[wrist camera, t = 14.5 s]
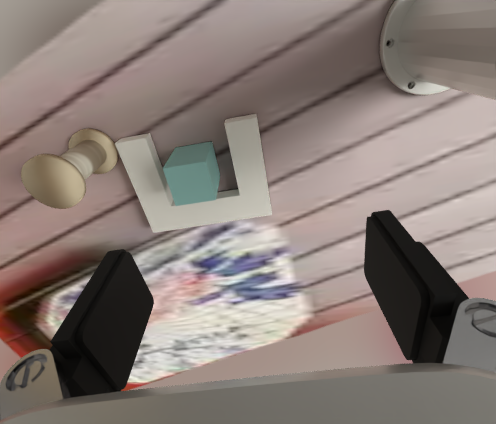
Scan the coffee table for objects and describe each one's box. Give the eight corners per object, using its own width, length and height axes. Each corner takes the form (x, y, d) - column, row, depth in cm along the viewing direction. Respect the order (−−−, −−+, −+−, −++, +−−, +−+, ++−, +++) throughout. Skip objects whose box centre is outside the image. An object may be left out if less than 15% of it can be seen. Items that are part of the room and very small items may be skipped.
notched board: (256, 113, 36) (257, 117, 34) (271, 207, 43) (272, 214, 41) (120, 138, 37) (114, 143, 36) (156, 225, 45) (153, 232, 43)
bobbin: (106, 124, 36) (64, 151, 28) (125, 167, 40) (92, 204, 31) (63, 132, 37) (8, 162, 28) (84, 174, 40) (41, 212, 32)
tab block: (212, 141, 38) (205, 161, 32) (220, 175, 40) (215, 200, 34) (175, 147, 38) (162, 168, 32) (186, 181, 41) (175, 206, 35)
